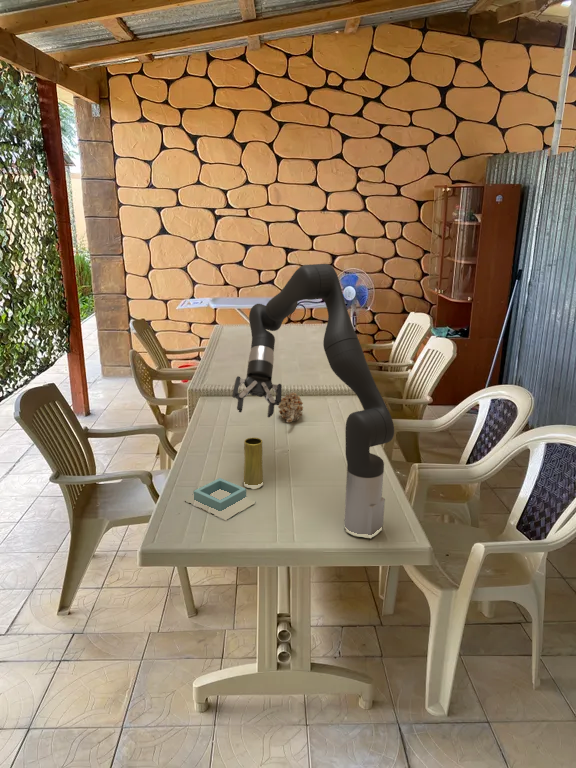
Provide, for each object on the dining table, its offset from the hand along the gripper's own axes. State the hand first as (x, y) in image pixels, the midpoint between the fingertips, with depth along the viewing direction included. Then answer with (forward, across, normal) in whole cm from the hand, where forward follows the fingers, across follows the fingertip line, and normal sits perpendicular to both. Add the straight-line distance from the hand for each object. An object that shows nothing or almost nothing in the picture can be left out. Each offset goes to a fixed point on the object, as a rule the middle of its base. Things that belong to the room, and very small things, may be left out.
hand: (254, 414), depth 177 cm
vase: (+17, +4, +14) cm, 22 cm away
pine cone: (-18, +21, +47) cm, 55 cm away
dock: (+25, -6, +8) cm, 27 cm away
